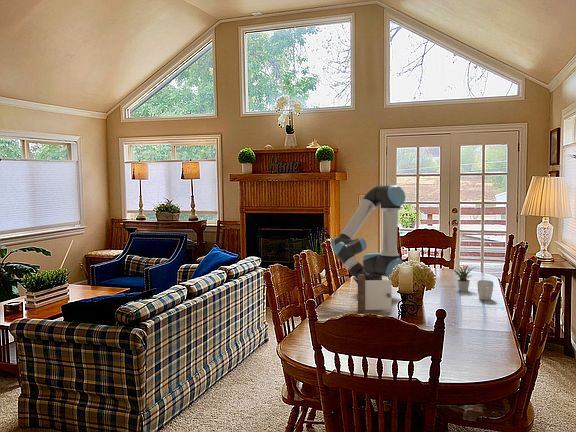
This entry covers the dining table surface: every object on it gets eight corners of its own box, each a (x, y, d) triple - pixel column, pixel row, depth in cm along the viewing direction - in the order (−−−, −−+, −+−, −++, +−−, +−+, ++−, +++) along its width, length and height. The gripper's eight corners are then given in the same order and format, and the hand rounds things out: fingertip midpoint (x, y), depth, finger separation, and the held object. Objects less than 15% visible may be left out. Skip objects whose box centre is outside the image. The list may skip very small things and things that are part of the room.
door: (390, 308, 268) (390, 280, 266) (392, 310, 264) (392, 281, 263) (363, 309, 267) (364, 280, 266) (365, 310, 264) (365, 281, 262)
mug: (495, 302, 285) (495, 284, 284) (479, 301, 286) (479, 284, 286) (491, 297, 296) (491, 280, 295) (476, 297, 297) (476, 280, 297)
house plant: (474, 288, 322) (474, 262, 320) (480, 292, 308) (480, 265, 307) (450, 287, 323) (451, 261, 322) (455, 292, 309) (456, 265, 308)
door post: (360, 312, 266) (360, 274, 265) (365, 313, 264) (365, 274, 263) (357, 313, 264) (357, 274, 263) (362, 314, 262) (362, 275, 261)
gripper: (359, 268, 290) (385, 300, 282) (339, 273, 274) (366, 308, 265) (368, 259, 287) (394, 291, 278) (348, 265, 270) (375, 299, 261)
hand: (380, 299), depth 272 cm, fingers closed on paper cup, 8 cm apart
